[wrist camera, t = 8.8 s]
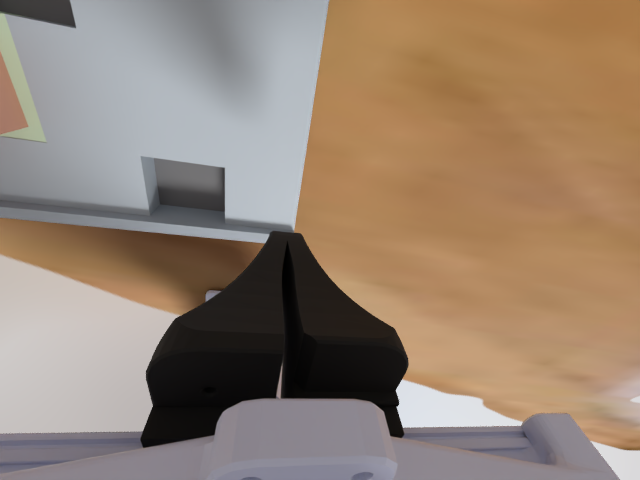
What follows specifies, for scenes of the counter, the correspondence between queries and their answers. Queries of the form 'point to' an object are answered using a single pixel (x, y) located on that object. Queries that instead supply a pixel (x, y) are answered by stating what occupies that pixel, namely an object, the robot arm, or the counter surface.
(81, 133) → the trap board
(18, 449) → the robot arm
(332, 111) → the counter surface
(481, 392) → the counter surface
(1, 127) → the block
